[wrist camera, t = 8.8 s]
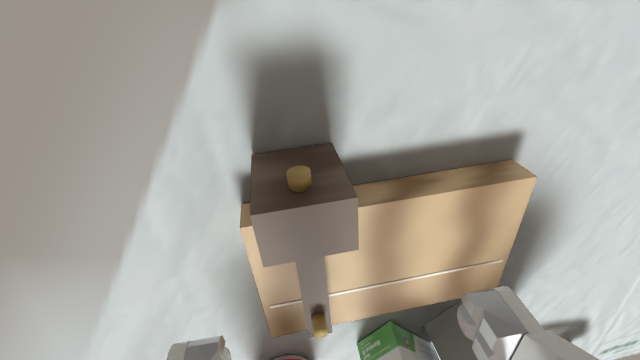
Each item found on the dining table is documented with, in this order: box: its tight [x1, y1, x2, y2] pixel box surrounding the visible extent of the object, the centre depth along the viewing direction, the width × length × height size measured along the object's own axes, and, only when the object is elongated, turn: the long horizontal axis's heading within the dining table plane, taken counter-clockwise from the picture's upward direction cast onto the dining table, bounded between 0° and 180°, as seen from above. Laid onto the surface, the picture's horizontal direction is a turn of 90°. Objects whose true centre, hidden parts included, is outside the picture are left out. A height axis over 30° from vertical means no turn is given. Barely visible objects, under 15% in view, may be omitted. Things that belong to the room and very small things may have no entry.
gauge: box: [250, 143, 359, 338], centre depth 20 cm, size 5×15×6 cm, turn 5°
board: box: [240, 160, 537, 338], centre depth 24 cm, size 20×12×3 cm, turn 95°
